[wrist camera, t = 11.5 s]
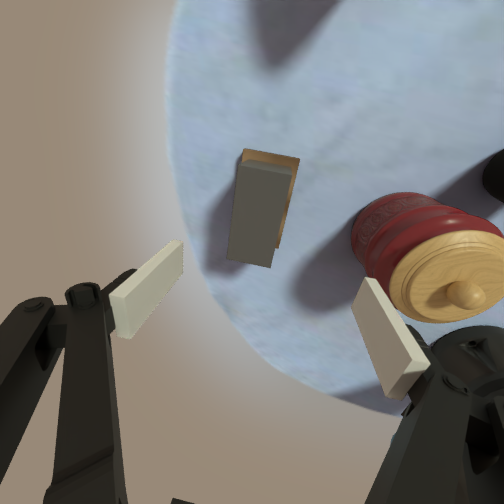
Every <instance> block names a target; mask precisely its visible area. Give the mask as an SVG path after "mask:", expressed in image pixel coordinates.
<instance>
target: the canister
mask: <svg viewBox="0 0 504 504" xmlns="http://www.w3.org/2000/svg"><path fill="white" fill-rule="evenodd" d="M351 245H352V249H353V252H354V254H355V256H356V257H357V259H358V260H359V262H360V263H361V264H362V265H363V267H364V268H365V270H366V273H367V276H368V277H369V278H373V279H376V280H377V282H378V283H379V285H380V286H381V288H382V289H383V291H384V292H385V294H386V296H387V297H388V299H389V300H390V302H391V303H392V305H393V306H394V308H395V309H397V310H399V311H400V312H402V313H403V314H404V315H406V316H408V317H410V318H412V319H414V320H417V321H421V322H426V323H450V322H456V321H460V320H464V319H467V318H470V317H473V316H475V315H478V314H480V313H482V312H484V311H486V310H487V309H489V308H490V307H492V306H493V305H495V304H496V303H497V302H498V301H500V300H501V299H502V298H503V297H504V235H503V234H502V232H501V231H500V230H499V229H498V228H497V227H496V226H495V225H494V224H492V223H491V222H489V221H487V220H485V219H483V218H480V217H477V216H473V215H469V214H468V213H466V212H464V211H462V210H460V209H457V208H454V207H450V206H446V205H444V204H441V203H439V202H437V201H436V200H435V199H433V198H431V197H428V196H426V195H423V194H419V193H413V192H399V193H393V194H389V195H386V196H383V197H381V198H378V199H377V200H375V201H373V202H372V203H370V204H369V205H368V206H367V207H365V208H364V209H363V210H362V211H361V213H360V214H359V215H358V217H357V218H356V220H355V222H354V224H353V227H352V231H351Z"/></svg>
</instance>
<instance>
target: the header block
mask: <svg viewBox="0 0 504 504" xmlns="http://www.w3.org/2000/svg"><path fill="white" fill-rule="evenodd" d="M248 159H251V160H257V161H262V162H267V163H273V164H278V165H283V166H288V167H291V171H292V179H291V183H290V187H289V191H288V196H287V200H286V204H285V208H284V213H283V217H282V221H281V225H280V230H279V234H278V238H277V242H276V247H275V248H277V249H278V248H279V244H280V240H281V236H282V232H283V228H284V224H285V219H286V215H287V211H288V207H289V203H290V199H291V195H292V191H293V186H294V182H295V178H296V174H297V170H298V166H299V162H300V159H299V158H295V157H289V156H284V155H278V154H273V153H267V152H262V151H257V150H251V149H246V148H245V149H243V155H242V162H244V161H246V160H248Z"/></svg>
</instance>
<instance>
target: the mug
mask: <svg viewBox="0 0 504 504" xmlns="http://www.w3.org/2000/svg"><path fill="white" fill-rule="evenodd" d="M483 183H484V186H485V188H486V190H487V191H488V192H489V193H490V194H491V195H492V196H494V197H495V198H496V199H498V200H500V201H502V202H503V203H504V150H502V151H501V152H499V153H498V154H497V155H496V156H495V157H494V158H493V159H492V160H491V161H490V162H489V164H488V165H487V167H486V169H485V171H484V174H483Z"/></svg>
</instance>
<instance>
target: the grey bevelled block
mask: <svg viewBox="0 0 504 504" xmlns="http://www.w3.org/2000/svg"><path fill="white" fill-rule="evenodd" d="M291 179H292V171H291V167H288V166H283V165H278V164H273V163H267V162H262V161H257V160H251V159H248V160H246V161H244V162H242V163H241V164H239V165H238V170H237V178H236V186H235V194H234V203H233V211H232V219H231V227H230V235H229V243H228V251H227V259H229V260H234V261H239V262H244V263H248V264H253V265H258V266H263V267H267V268H271V263H272V259H273V255H274V251H275V247H276V242H277V238H278V234H279V230H280V225H281V221H282V217H283V213H284V208H285V204H286V200H287V196H288V191H289V187H290V183H291Z"/></svg>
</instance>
